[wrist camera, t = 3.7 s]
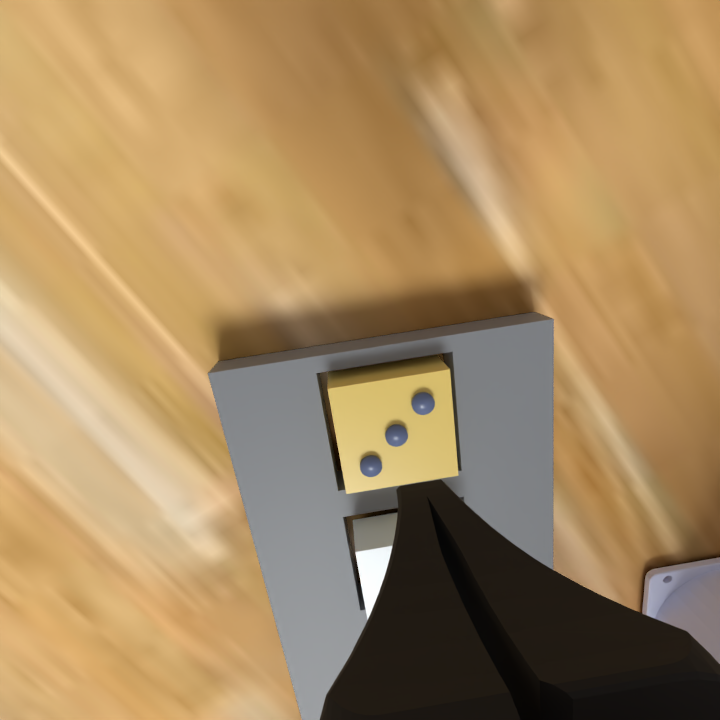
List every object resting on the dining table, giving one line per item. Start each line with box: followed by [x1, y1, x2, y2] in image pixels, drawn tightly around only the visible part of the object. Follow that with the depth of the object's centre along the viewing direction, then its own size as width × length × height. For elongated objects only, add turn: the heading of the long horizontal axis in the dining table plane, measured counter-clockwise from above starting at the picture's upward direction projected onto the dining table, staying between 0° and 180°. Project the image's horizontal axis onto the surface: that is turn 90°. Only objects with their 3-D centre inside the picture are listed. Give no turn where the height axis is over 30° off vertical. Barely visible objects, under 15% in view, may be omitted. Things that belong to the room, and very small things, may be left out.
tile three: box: [328, 355, 458, 494], centre depth 17 cm, size 5×5×2 cm
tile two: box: [353, 512, 398, 620], centre depth 18 cm, size 5×5×2 cm
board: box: [208, 312, 554, 720], centre depth 20 cm, size 14×21×2 cm, turn 8°
